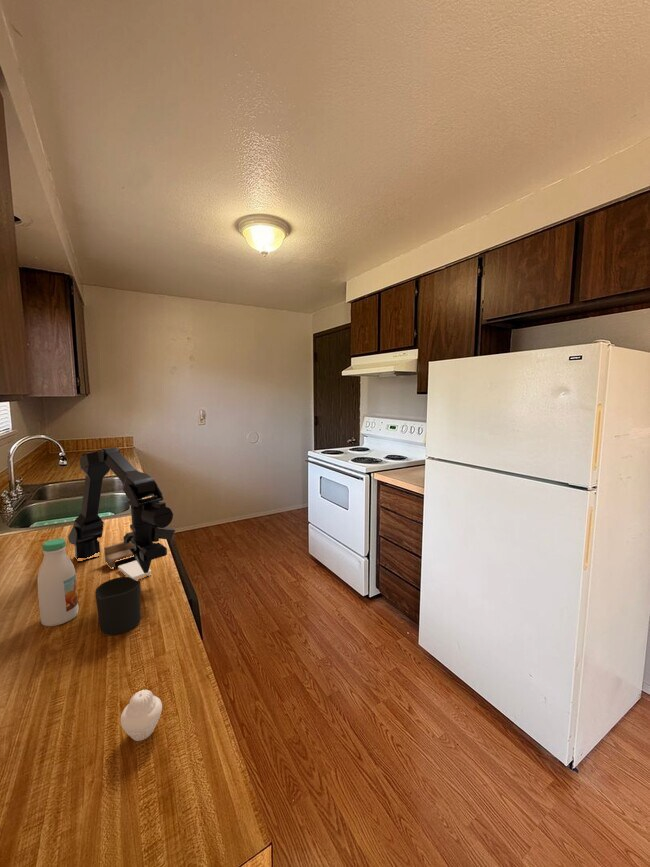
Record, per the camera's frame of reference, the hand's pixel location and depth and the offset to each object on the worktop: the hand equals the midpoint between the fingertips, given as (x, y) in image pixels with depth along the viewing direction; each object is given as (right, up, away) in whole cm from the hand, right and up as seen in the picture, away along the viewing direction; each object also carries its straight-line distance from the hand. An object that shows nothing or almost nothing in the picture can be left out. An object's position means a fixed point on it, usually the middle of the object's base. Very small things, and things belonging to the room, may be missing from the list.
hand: (145, 572), depth 106 cm
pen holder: (+3, -6, -18) cm, 19 cm away
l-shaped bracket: (-14, -3, +14) cm, 20 cm away
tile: (-8, -4, +8) cm, 12 cm away
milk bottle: (-14, -6, -15) cm, 21 cm away
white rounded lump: (+23, -9, -46) cm, 52 cm away
